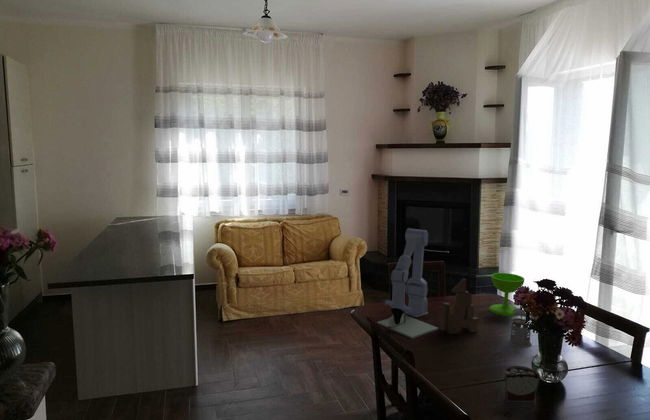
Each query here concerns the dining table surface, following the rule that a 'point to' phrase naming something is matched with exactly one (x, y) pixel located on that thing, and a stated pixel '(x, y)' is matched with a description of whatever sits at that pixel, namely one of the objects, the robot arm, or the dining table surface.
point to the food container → (520, 384)
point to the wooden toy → (459, 311)
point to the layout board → (410, 327)
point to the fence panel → (392, 320)
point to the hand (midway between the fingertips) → (397, 323)
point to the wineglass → (507, 285)
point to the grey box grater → (520, 331)
